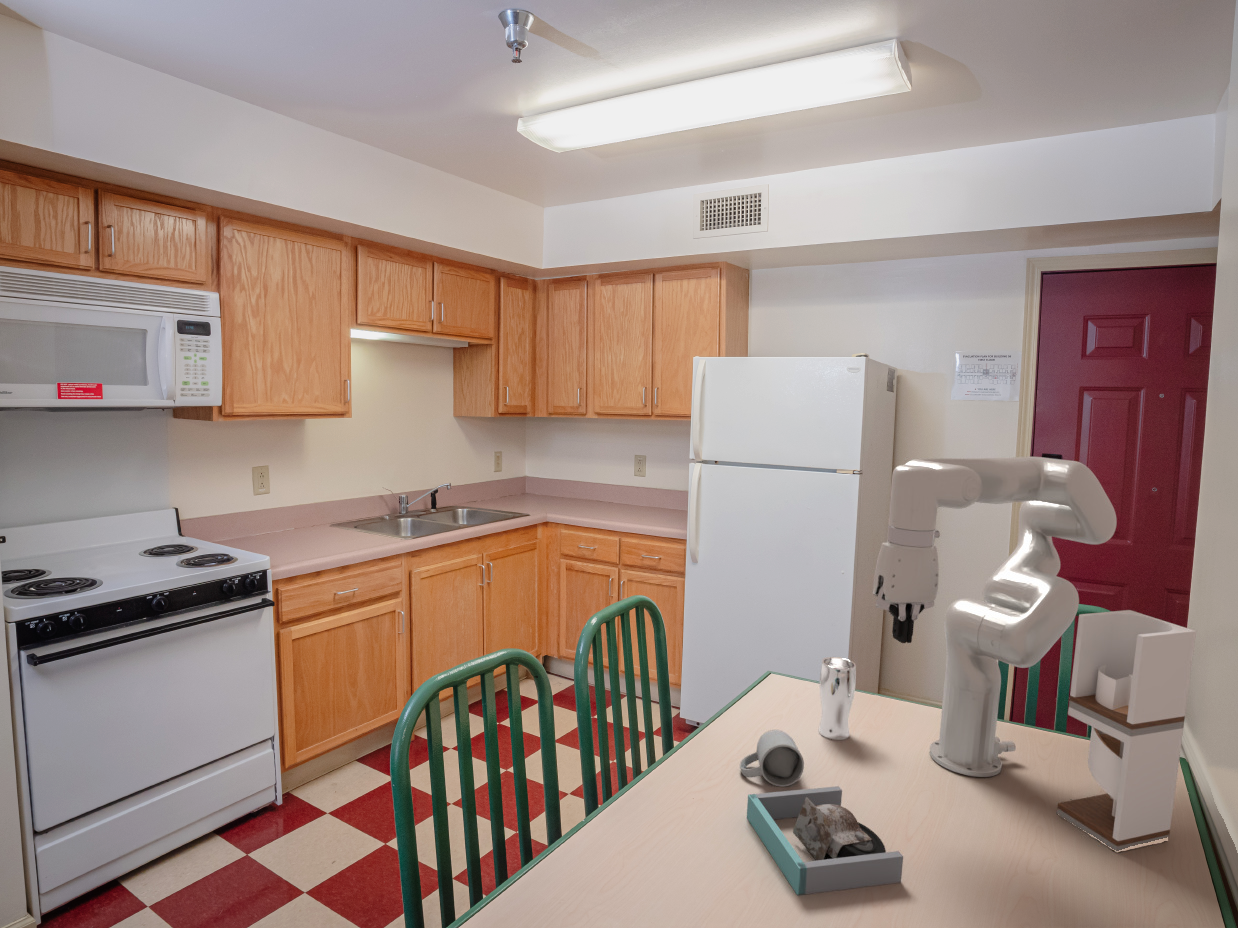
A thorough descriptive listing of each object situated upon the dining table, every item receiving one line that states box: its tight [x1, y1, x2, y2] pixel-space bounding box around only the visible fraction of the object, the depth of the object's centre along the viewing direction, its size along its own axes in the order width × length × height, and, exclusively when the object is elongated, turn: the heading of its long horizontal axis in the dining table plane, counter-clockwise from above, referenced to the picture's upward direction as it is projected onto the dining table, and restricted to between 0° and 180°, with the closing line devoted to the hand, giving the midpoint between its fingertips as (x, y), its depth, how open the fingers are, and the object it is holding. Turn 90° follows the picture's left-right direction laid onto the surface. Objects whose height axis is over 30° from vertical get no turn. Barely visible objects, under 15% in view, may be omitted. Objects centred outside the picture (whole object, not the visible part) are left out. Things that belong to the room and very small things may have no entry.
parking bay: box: [746, 785, 904, 896], centre depth 113 cm, size 16×18×4 cm
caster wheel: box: [792, 797, 887, 861], centre depth 111 cm, size 7×11×10 cm
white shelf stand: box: [1056, 609, 1197, 851], centre depth 119 cm, size 11×11×35 cm
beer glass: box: [818, 656, 857, 741], centre depth 149 cm, size 7×7×15 cm
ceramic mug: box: [739, 729, 805, 788], centre depth 133 cm, size 11×8×8 cm
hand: (901, 640), depth 128 cm, fingers closed
